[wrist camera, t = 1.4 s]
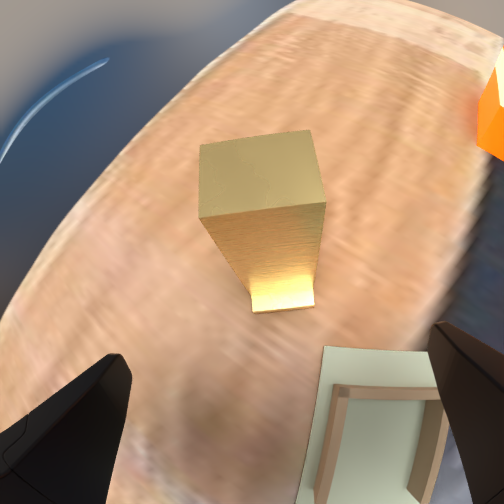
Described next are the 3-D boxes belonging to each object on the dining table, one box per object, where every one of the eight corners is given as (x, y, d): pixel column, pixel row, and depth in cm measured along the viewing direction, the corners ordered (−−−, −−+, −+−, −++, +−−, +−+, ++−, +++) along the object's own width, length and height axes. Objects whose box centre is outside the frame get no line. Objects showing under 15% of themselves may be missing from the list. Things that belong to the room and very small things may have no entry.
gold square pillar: (313, 307, 21) (332, 231, 9) (254, 313, 21) (198, 247, 9) (304, 238, 22) (305, 111, 11) (249, 245, 23) (200, 126, 11)
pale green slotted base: (411, 517, 14) (427, 537, 10) (291, 518, 15) (289, 542, 12) (446, 352, 18) (470, 348, 15) (324, 346, 20) (329, 342, 16)
